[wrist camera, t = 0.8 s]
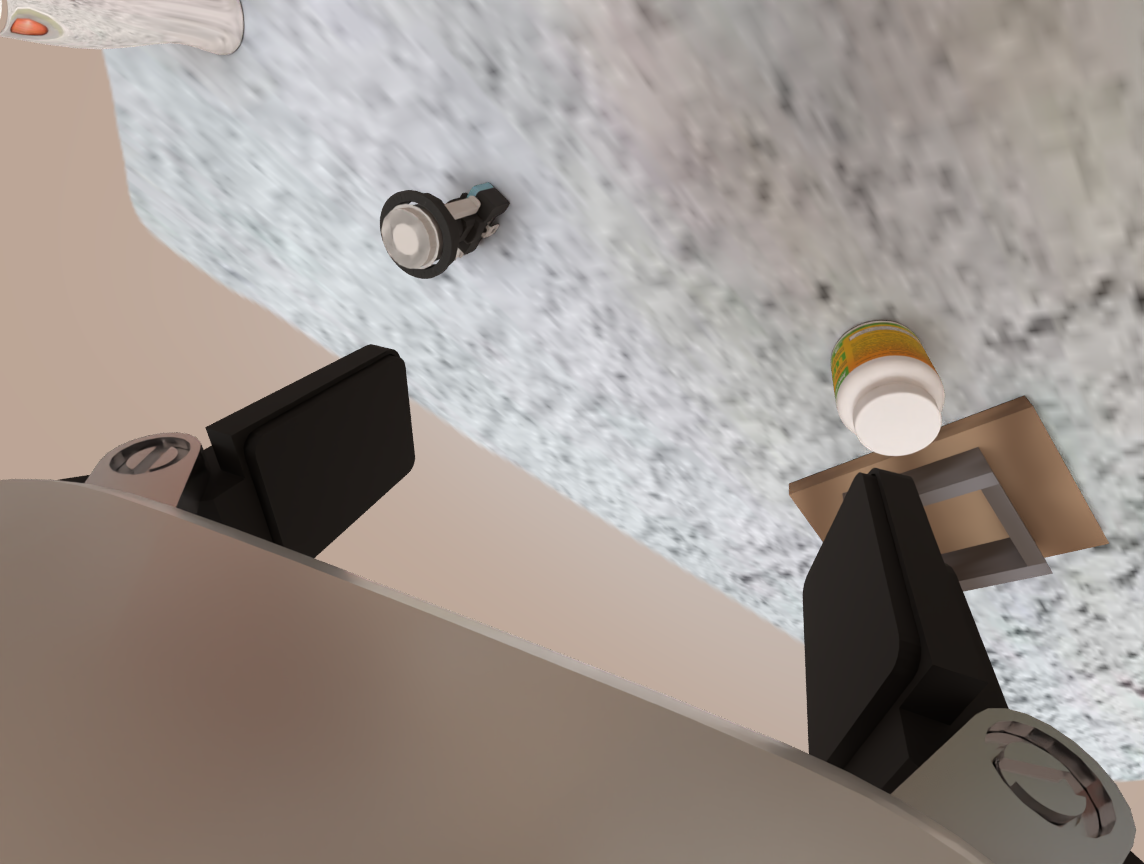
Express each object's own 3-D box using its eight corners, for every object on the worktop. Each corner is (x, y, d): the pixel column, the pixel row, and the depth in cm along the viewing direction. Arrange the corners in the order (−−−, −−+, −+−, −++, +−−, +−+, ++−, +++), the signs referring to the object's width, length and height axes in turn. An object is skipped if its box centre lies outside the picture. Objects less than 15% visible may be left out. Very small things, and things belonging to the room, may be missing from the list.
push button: (483, 275, 42) (411, 313, 34) (436, 229, 41) (351, 256, 34) (527, 212, 38) (456, 238, 30) (475, 160, 37) (389, 172, 30)
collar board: (1024, 395, 33) (1052, 430, 29) (1098, 529, 35) (1133, 575, 31) (789, 483, 42) (788, 518, 38) (860, 584, 44) (866, 625, 41)
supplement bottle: (825, 328, 35) (834, 388, 27) (918, 310, 32) (957, 371, 25) (834, 397, 37) (845, 471, 29) (922, 385, 34) (960, 463, 27)
